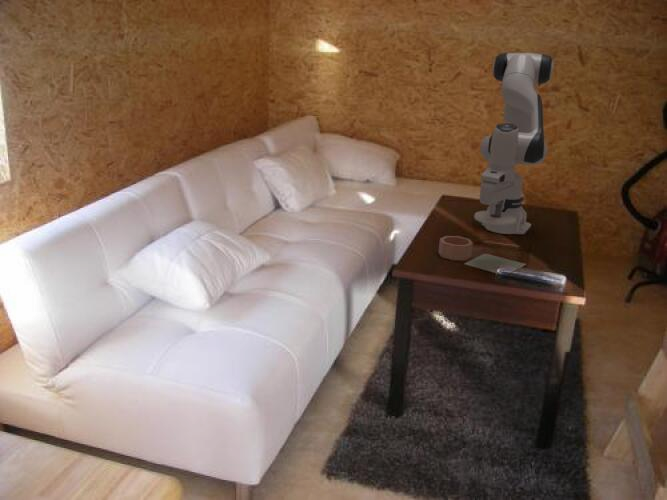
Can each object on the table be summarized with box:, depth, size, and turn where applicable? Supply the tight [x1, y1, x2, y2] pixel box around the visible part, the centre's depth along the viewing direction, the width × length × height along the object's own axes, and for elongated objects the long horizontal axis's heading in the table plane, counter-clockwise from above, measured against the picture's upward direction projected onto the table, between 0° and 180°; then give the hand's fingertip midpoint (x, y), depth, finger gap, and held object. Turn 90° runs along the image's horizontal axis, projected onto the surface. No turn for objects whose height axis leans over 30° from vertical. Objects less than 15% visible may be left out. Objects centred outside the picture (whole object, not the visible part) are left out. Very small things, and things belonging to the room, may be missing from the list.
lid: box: [474, 204, 516, 226], centre depth 222 cm, size 14×14×5 cm
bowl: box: [437, 235, 474, 261], centre depth 233 cm, size 11×11×6 cm
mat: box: [464, 253, 527, 274], centre depth 227 cm, size 16×16×1 cm
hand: (495, 212), depth 222 cm, fingers closed on lid, 3 cm apart
